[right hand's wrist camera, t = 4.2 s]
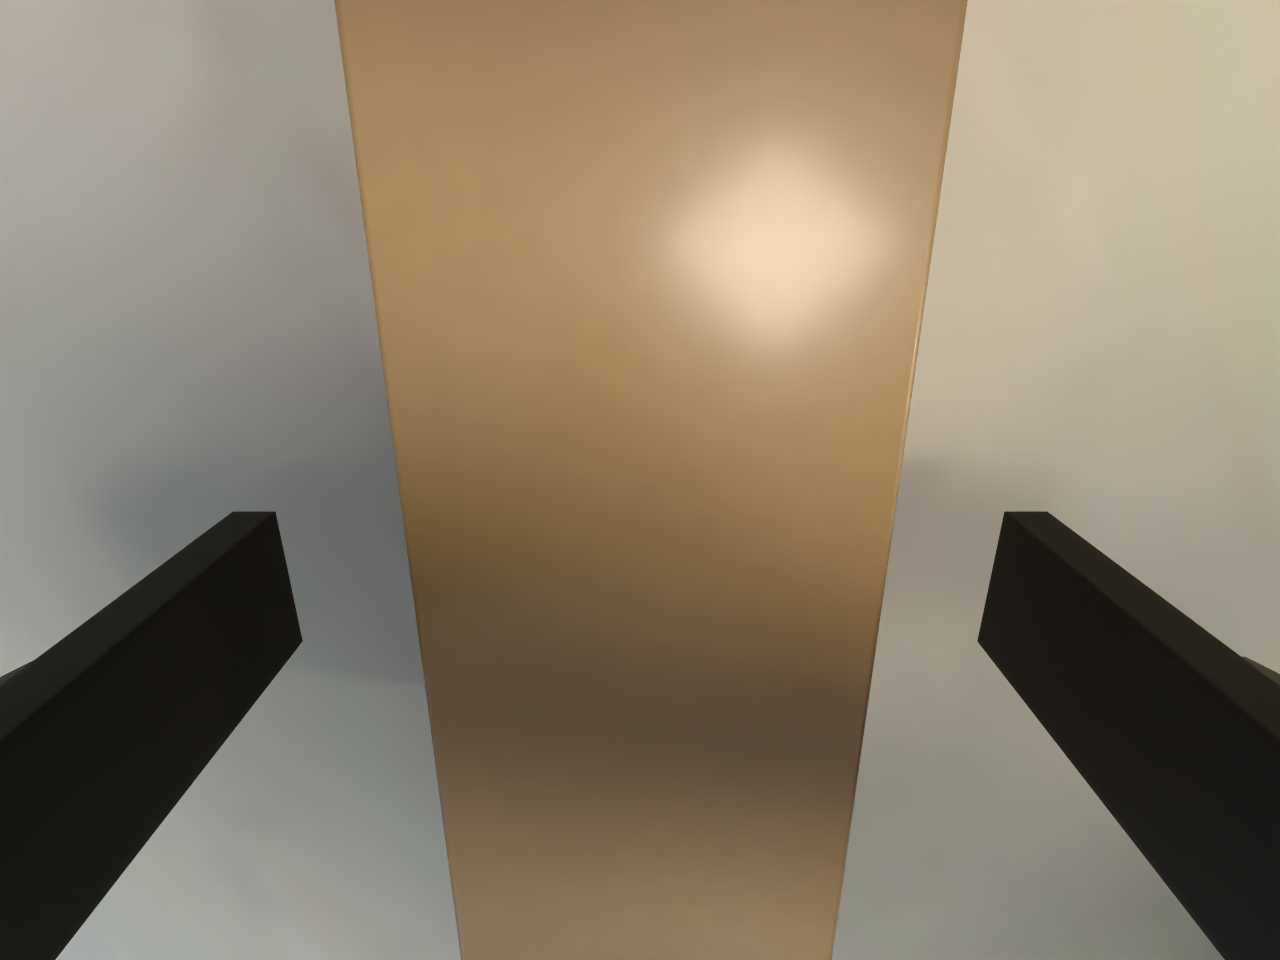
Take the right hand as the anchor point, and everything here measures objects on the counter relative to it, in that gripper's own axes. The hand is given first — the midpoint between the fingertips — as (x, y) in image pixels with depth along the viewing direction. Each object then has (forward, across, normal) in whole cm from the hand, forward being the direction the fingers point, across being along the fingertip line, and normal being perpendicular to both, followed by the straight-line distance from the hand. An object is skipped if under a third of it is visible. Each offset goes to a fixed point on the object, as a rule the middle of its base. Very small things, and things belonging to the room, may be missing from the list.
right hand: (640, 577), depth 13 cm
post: (+3, 0, -28) cm, 28 cm away
